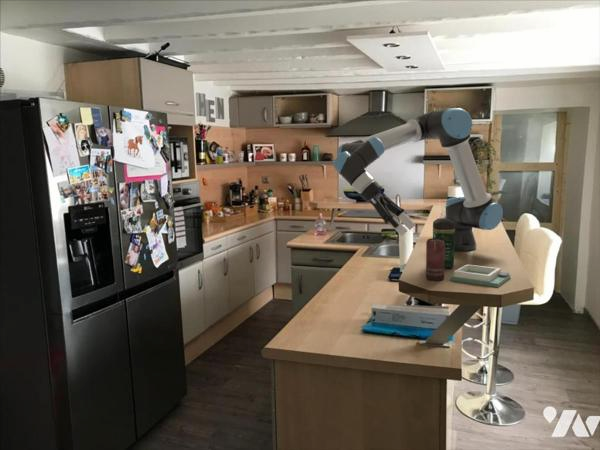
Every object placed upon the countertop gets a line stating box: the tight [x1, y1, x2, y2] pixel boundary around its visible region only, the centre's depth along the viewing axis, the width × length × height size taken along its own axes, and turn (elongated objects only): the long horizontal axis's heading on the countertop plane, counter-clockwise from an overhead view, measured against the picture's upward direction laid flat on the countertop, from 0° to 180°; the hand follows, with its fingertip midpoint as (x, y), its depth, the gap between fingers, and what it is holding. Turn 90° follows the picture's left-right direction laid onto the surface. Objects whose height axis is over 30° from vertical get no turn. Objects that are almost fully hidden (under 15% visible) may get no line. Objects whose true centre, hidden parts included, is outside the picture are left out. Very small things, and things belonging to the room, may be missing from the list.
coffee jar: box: [432, 217, 455, 270], centre depth 188 cm, size 10×8×19 cm
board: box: [449, 264, 511, 288], centre depth 169 cm, size 14×16×3 cm
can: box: [425, 238, 445, 282], centre depth 171 cm, size 6×6×14 cm
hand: (408, 230), depth 172 cm, fingers open, 13 cm apart
